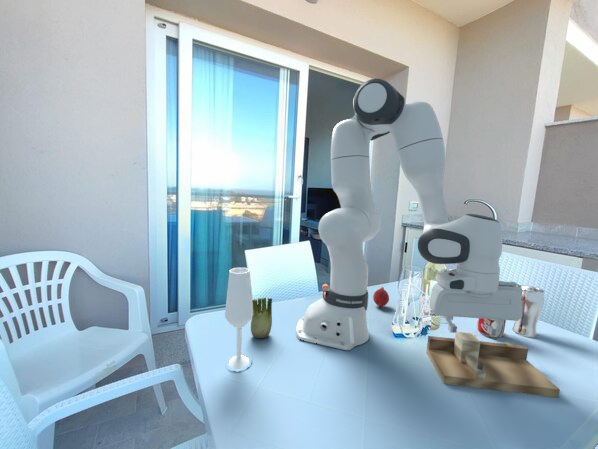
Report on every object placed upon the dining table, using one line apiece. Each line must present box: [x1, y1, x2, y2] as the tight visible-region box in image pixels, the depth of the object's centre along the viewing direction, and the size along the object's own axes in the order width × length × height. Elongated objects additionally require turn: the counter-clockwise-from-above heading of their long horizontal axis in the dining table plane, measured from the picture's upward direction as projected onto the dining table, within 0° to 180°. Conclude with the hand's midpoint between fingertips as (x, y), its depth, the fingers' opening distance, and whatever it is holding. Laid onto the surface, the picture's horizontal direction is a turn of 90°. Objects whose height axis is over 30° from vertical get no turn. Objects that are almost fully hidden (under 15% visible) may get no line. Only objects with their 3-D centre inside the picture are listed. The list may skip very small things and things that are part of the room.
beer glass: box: [511, 284, 546, 339], centre depth 86 cm, size 7×7×15 cm
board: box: [426, 335, 561, 399], centre depth 66 cm, size 24×12×5 cm, turn 82°
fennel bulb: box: [250, 297, 273, 339], centre depth 78 cm, size 6×5×12 cm
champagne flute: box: [224, 267, 253, 369], centre depth 65 cm, size 7×7×24 cm
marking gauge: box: [453, 331, 486, 379], centre depth 66 cm, size 4×10×6 cm, turn 172°
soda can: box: [476, 318, 507, 339], centre depth 85 cm, size 7×7×12 cm
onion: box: [372, 286, 390, 308], centre depth 102 cm, size 6×6×8 cm
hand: (471, 333), depth 67 cm, fingers open, 8 cm apart
